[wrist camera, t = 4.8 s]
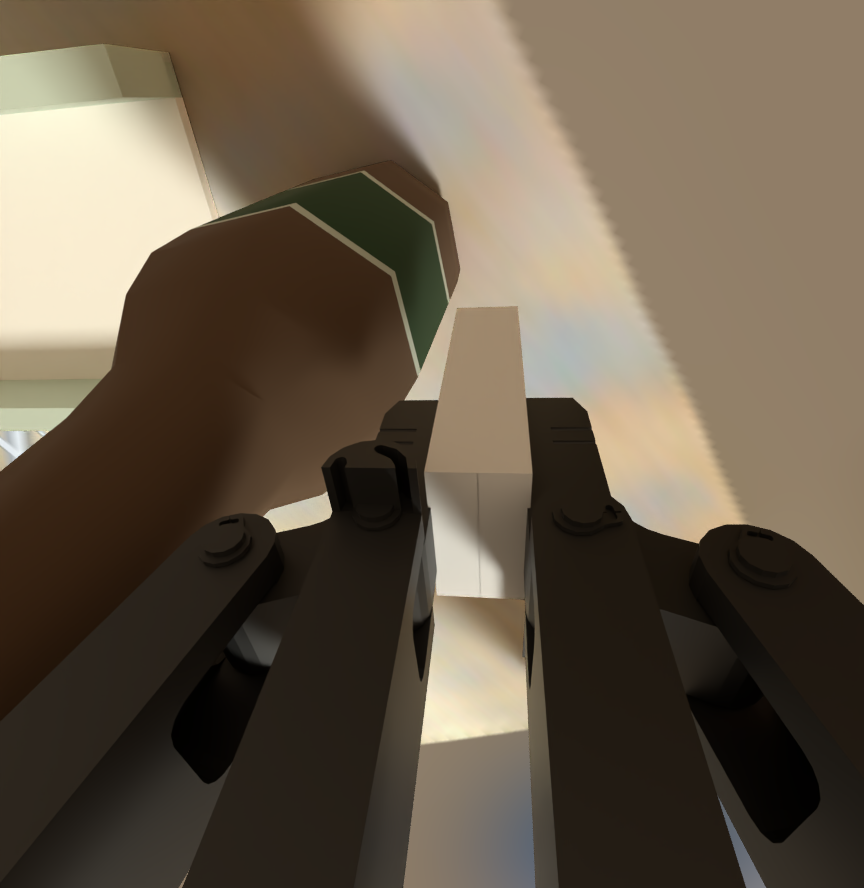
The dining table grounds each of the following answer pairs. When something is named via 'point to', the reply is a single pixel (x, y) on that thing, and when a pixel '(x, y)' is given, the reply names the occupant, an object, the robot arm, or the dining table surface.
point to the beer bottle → (221, 396)
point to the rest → (83, 212)
